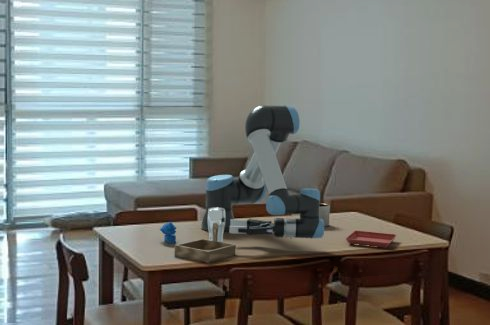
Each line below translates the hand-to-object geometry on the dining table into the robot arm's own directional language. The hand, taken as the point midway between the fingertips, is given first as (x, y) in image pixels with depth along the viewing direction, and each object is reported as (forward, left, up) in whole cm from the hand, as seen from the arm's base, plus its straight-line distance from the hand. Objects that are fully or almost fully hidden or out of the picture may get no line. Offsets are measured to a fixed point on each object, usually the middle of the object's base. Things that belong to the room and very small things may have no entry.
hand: (229, 226), depth 296 cm
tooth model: (-5, -3, -9) cm, 10 cm away
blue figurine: (-24, -9, -9) cm, 27 cm away
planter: (0, +65, -9) cm, 66 cm away
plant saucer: (+37, +47, -9) cm, 61 cm away
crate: (+2, -18, -8) cm, 20 cm away
